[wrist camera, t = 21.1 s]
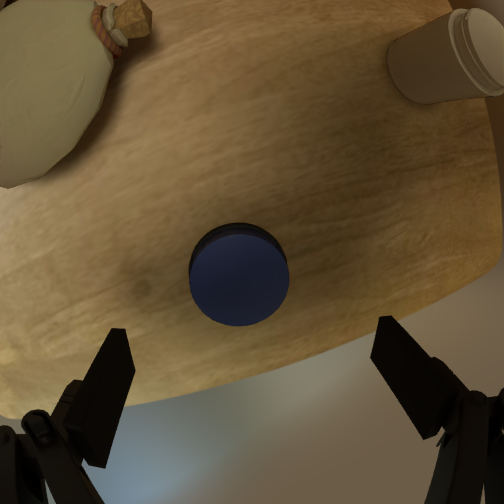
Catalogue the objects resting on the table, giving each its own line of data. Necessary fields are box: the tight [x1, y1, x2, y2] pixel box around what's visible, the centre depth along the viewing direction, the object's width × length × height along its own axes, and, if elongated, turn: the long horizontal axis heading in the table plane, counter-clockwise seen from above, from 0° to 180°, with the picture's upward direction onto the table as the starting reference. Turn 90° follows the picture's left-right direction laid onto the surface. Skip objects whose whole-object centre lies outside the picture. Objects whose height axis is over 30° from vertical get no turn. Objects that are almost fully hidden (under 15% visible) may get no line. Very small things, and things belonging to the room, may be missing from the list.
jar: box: [387, 8, 504, 105], centre depth 16 cm, size 7×7×11 cm
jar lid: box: [189, 227, 289, 326], centre depth 24 cm, size 8×8×2 cm
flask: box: [0, 0, 152, 189], centre depth 15 cm, size 9×16×18 cm
